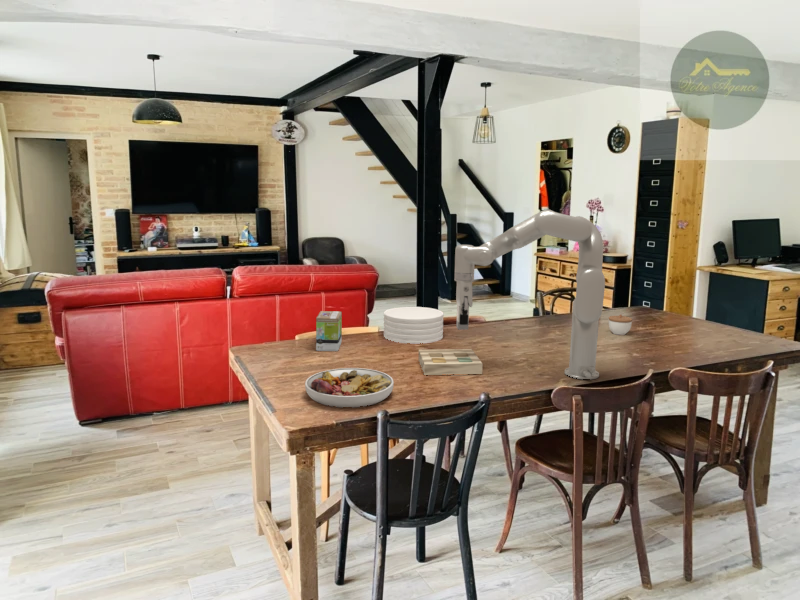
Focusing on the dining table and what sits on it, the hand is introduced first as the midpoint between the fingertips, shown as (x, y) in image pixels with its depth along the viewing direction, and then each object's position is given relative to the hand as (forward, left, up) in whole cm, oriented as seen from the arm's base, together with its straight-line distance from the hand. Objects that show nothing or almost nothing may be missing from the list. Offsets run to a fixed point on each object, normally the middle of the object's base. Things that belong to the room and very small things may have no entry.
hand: (462, 322), depth 235 cm
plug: (0, 0, -2) cm, 2 cm away
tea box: (+31, +53, -18) cm, 64 cm away
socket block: (-2, +5, -18) cm, 18 cm away
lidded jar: (+48, -87, -18) cm, 101 cm away
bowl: (-30, +44, -18) cm, 56 cm away
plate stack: (+48, +14, -18) cm, 53 cm away
